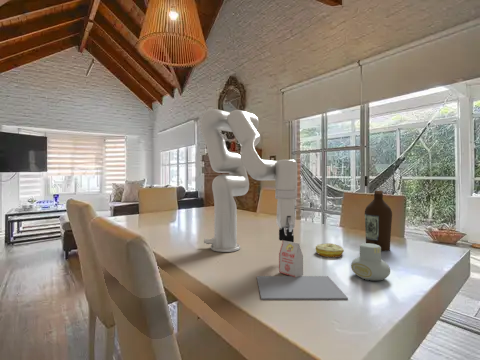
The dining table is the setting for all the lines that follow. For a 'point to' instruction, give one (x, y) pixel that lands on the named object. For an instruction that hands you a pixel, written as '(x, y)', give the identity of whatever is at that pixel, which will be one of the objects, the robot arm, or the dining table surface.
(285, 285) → the mat
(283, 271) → the white paper carton
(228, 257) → the dining table surface
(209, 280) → the dining table surface
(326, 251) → the decorated donut
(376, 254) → the air freshener
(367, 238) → the olive oil
